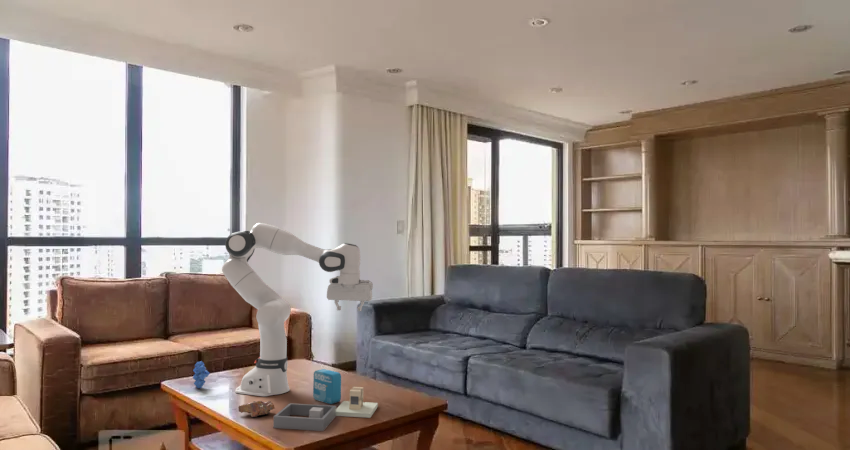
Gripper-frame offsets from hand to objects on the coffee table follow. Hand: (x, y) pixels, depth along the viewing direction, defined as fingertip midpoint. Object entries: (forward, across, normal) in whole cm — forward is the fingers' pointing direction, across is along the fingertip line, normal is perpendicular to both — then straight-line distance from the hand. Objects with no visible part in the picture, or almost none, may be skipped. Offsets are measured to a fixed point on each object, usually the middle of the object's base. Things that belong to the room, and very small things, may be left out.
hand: (349, 310), depth 260 cm
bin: (+34, +3, +49) cm, 60 cm away
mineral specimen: (+34, +23, +44) cm, 61 cm away
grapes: (+34, +61, +14) cm, 72 cm away
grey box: (+34, -1, +49) cm, 60 cm away
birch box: (+32, -12, +33) cm, 48 cm away
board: (+34, -12, +33) cm, 49 cm away
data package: (+34, +3, +22) cm, 41 cm away
